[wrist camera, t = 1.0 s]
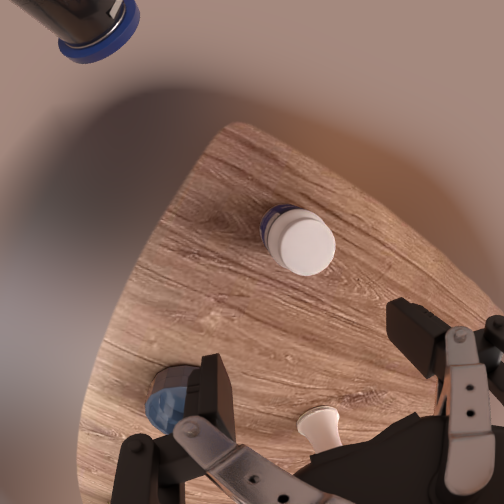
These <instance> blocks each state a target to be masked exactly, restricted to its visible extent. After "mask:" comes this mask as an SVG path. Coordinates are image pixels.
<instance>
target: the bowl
mask: <svg viewBox="0 0 504 504" xmlns="http://www.w3.org/2000/svg"><path fill="white" fill-rule="evenodd" d="M198 368H199V367H193V366H186V365H183V366H176V367H169V368H167V369H165V370H163V371H162V372H160V373H158V374H156V376H155V378H154V379H153V381H152V382H151V385H150V388H149V391H148V395H147V398H146V402H145V413H146V416H147V418H148V419H149V421H150V422H151V424H152V425H153V426H154V427H156V428H157V429H158V430H160V431H161V432H162V433H164V434H166V435H168V434H170V433H172V432H173V429H174V427H175V425H176V424H177V423H178V422H179V421H180V420H182V419H183V414H184V405H185V397H186V390H187V382H188V377H189V375H190V374H191V372H192V371H193V369H198Z"/></svg>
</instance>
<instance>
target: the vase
mask: <svg viewBox="0 0 504 504" xmlns="http://www.w3.org/2000/svg"><path fill="white" fill-rule="evenodd" d="M338 420H339V414H338V412H337V410H336V409H335V408H334V407H331V406H321V407H316V408H313V409H311V410H309V411H307V412H306V413H304V414H303V415H302V416H301V417H300V418H299V419H298V421H297V428H298V431H299V433H300V434H302V435H304V436H305V437H306V438H307V439H308V440H309V442H310V443H311V445H312V446H313V448H314V450H315V453H316V454H317V453H320V452H323V451H326V450H329V449H332V448H335V447H338V446H342V443H341V441H340V438H339V434H338Z"/></svg>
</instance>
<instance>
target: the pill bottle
mask: <svg viewBox="0 0 504 504" xmlns="http://www.w3.org/2000/svg"><path fill="white" fill-rule="evenodd" d="M259 232H260V237H261V240H262V242H263V243H264V245H265V247H266V248H267V250H268V251H269V253H270V254H271V256H272V257H273V259H274V260H275V261H276V262H277V263H278V264H279V265H281V266H282V267H284V268H286V269H289V270H290V271H292V272H293V273H295V274H298V275H303V276H309V275H314V274H317V273H319V272H321V271H322V270H324V269H325V268H326V267H327V266H328V265H329V263H330V262H331V260H332V258H333V256H334V253H335V239H334V236H333V234H332V232H331V230H330V229H329V228H328V226H326V225H325V223H324V222H323V220H322V219H321V218H320V217H319V216H318V215H316V214H315V213H313V212H311V211H309V210H306V209H303V208H300V207H297V206H294V205H291V204H278V205H275V206H273V207H272V208H270V209H269V210H268V211H267V212H266V213H265V214H264V215H263V217H262V219H261V222H260V227H259Z"/></svg>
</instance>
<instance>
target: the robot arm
mask: <svg viewBox="0 0 504 504" xmlns="http://www.w3.org/2000/svg"><path fill="white" fill-rule="evenodd" d="M9 1H11V2H12V3H13V4H15V5H17V6H18V7H19V8H21V9H22V10H23V11H25V12H26V13H28V14H29V15H30V16H31V17H33V18H34V19H36V20H37V21H38V22H39V23H41V24H42V25H43V26H45V27H46V28H47V29H49V30H50V31H51V32H52V33H54V34H55V35H56V36H57V37H59V38H60V39H61V40H63V41H64V42H65V44H66V45H67V46H69V47H70V48H72V49H75V50H82V49H87V48H90V47H93V46H95V45H97V44H99V43H101V42H102V41H104V40H105V39H107V38H108V37H109V36H110V35H112V34H113V33H114V32H115V31H116V30H117V28H118V27H119V26H120V25H121V23H122V22H123V20H124V18H125V15H126V5H125V3H124V1H123V0H9ZM386 331H387V335H388V338H389V339H390V341H391V342H392V343H393V344H394V345H395V346H396V347H397V348H398V349H399V350H400V351H401V352H402V353H403V354H404V356H405V357H406V358H407V359H408V360H409V361H410V362H411V363H412V364H413V365H414V366H415V367H416V368H417V369H418V370H419V371H420V372H421V374H422V375H423V376H424V377H425V378H426V379H428V378H430V377H432V376H433V375H436V376H437V380H436V393H435V406H434V414H433V415H432V416H425V417H421V418H420V417H419V416H418V415H417V413H416V412H414V413H412V414H411V415H409V416H407V417H405V418H403V419H401V420H399V421H397V422H395V423H393V424H391V425H390V426H389V427H388V428H386V429H385V430H384V431H382V432H381V433H380V434H378V435H377V436H375V437H374V438H373V439H371V440H369V441H366V442H361V443H356V444H350V445H344V446H338V447H335V448H332V449H329V450H326V451H323V452H320V453H317V454H313V455H310V460H311V463H309V464H308V465H306V466H304V467H303V468H301V469H300V470H298V471H297V472H296V473H295V474H293V475H291V474H290V473H288V472H286V471H285V470H283V469H281V468H280V467H278V466H277V465H275V464H273V463H272V462H270V461H269V460H267V459H266V458H264V457H263V456H261V455H260V454H258V453H257V452H255V451H254V450H252V449H251V448H249V447H248V446H246V445H244V444H241V445H238V444H236V437H235V424H234V411H233V397H232V387H231V383H230V379H229V377H228V374H227V372H226V369H225V367H224V364H223V362H222V359H221V357H220V354H219V353H216V354H212V355H207V356H202V362H201V368H198V369H193V371H192V372H191V374H190V375H189V377H188V382H187V390H186V397H185V405H184V414H183V419H182V420H180V421H179V422H178V423H177V424H176V425H175V427H174V429H173V432H172V433H170V434H168V435H165V436H162V437H159V438H156V439H153V440H152V438H151V437H150V436H148V435H146V434H142V433H139V434H134V435H132V436H130V437H128V438H127V439H126V440H125V441H124V442H123V443H122V445H121V449H120V454H119V459H118V464H117V469H116V474H115V480H114V486H113V492H112V498H111V504H185V482H186V481H189V480H191V479H194V478H197V477H200V476H203V475H205V476H206V477H207V478H209V479H210V480H211V481H212V482H213V483H214V484H215V485H216V486H217V487H218V488H219V489H221V490H222V491H223V492H224V493H225V494H226V495H227V496H229V497H230V498H231V499H232V500H233V501H234V502H235V503H237V504H504V427H502V426H495V425H491V412H490V398H489V390H490V391H491V392H492V394H493V395H494V396H495V397H496V398H497V399H498V400H499V401H500V402H501V403H502V405H503V406H504V363H503V362H502V361H501V358H502V355H503V353H504V316H501V315H494V316H491V317H489V318H488V319H487V320H486V324H485V328H483V329H480V330H477V331H472V330H471V329H469V328H467V327H464V326H456V327H450V326H449V325H448V324H446V323H445V322H444V321H442V320H441V319H440V318H438V317H437V316H434V314H433V313H431V312H429V311H428V310H427V309H426V308H424V307H423V306H421V305H418V304H415V303H410V302H408V301H407V300H405V299H404V298H402V297H400V298H398V299H395V300H393V301H390V302H388V303H387V305H386Z"/></svg>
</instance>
